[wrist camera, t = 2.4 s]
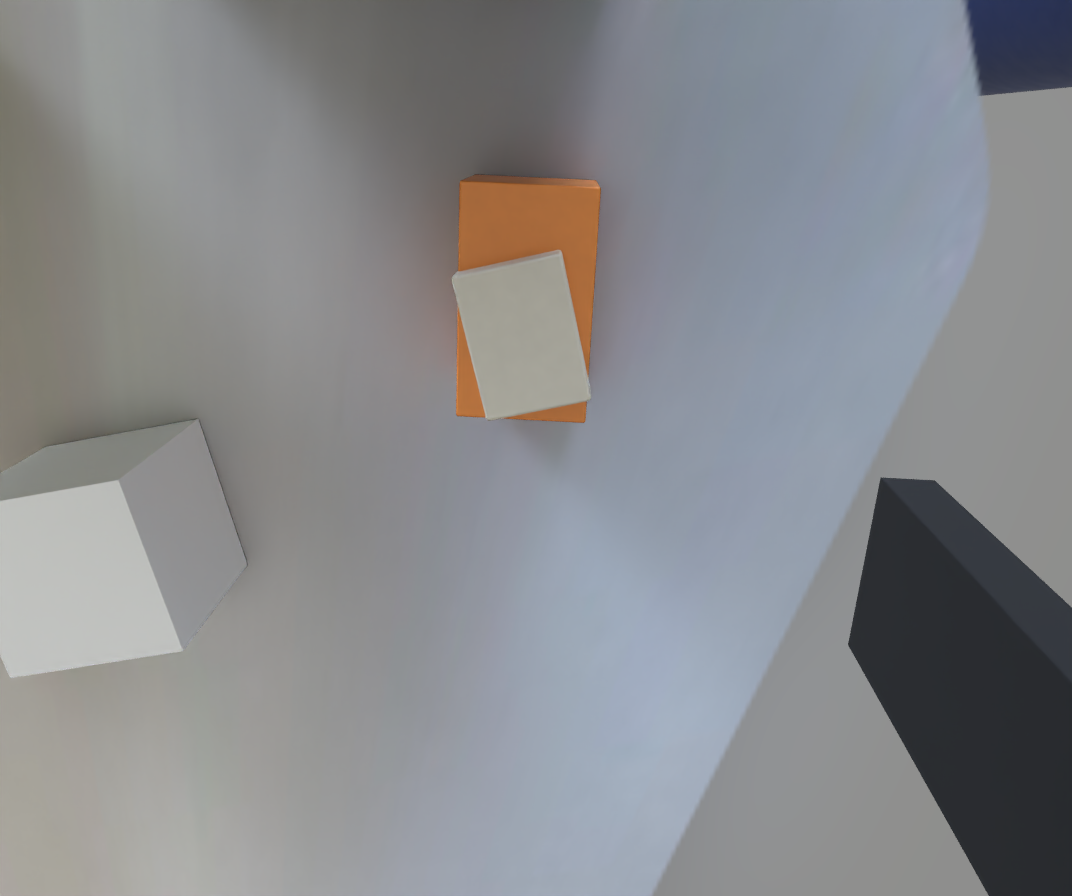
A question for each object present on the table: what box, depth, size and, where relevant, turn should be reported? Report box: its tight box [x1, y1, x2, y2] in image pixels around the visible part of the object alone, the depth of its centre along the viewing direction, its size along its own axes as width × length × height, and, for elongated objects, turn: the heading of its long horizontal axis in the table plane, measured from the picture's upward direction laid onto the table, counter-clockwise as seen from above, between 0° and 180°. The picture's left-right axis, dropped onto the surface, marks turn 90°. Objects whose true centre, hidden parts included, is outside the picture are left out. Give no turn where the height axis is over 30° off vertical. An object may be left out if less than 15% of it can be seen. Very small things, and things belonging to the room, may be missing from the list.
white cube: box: [0, 419, 247, 678], centre depth 30 cm, size 6×6×6 cm
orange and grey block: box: [452, 174, 601, 423], centre depth 27 cm, size 4×7×5 cm, turn 178°
